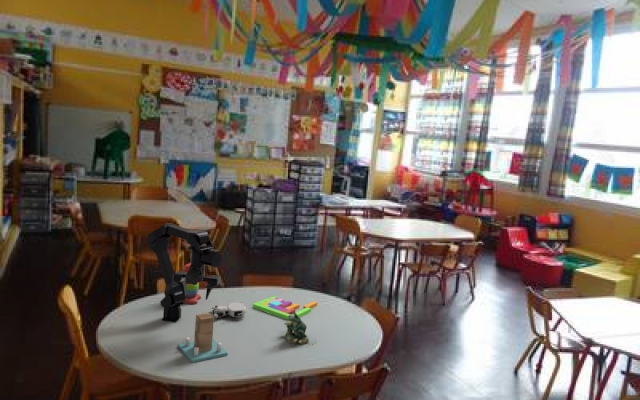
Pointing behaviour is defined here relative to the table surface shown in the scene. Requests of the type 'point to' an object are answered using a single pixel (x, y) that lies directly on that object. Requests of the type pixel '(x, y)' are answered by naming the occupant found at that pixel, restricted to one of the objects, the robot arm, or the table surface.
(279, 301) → the toy blocks
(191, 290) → the stacking bear
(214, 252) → the robot arm
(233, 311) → the robot toy
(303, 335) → the frog figurine
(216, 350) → the peg plate
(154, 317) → the table surface
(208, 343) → the walnut pillar
